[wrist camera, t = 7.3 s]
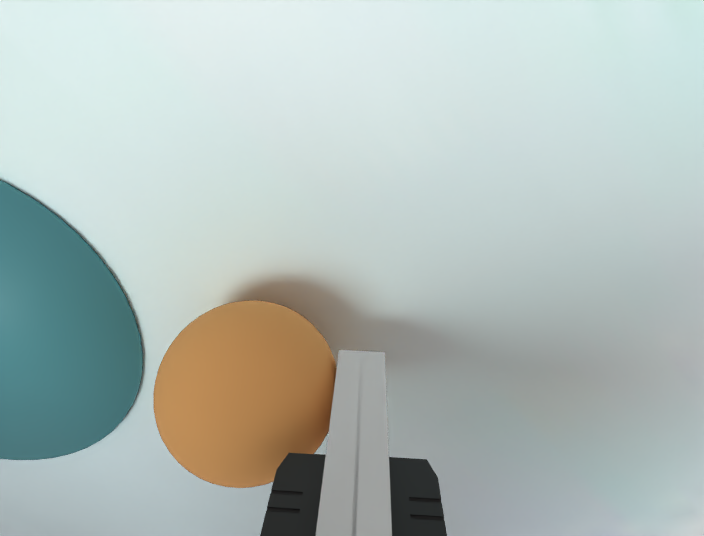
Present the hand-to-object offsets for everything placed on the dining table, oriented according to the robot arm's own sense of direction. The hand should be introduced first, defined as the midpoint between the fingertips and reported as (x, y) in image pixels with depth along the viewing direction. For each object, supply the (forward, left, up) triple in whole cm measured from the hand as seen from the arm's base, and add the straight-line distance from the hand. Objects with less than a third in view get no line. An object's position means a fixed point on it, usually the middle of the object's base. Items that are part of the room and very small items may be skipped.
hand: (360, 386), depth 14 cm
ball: (0, +3, 0) cm, 3 cm away
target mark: (0, +15, -2) cm, 15 cm away
